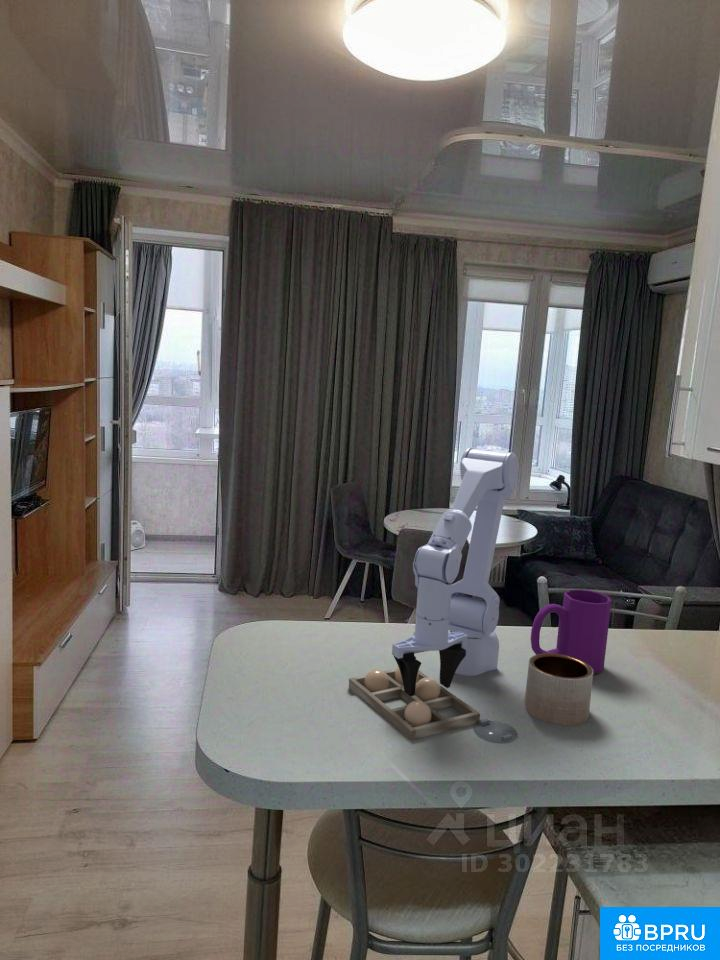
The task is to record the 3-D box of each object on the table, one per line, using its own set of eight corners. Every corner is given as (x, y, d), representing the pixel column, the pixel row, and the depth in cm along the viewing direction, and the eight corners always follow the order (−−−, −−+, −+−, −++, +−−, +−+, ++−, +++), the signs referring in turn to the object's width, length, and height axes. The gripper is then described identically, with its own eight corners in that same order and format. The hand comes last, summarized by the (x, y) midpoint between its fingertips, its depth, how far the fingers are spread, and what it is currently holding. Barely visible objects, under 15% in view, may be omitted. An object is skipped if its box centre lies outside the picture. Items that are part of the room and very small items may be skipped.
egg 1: (380, 686, 127) (381, 663, 126) (393, 696, 123) (394, 673, 122) (359, 690, 125) (360, 667, 124) (371, 701, 121) (373, 677, 120)
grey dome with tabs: (496, 725, 117) (497, 713, 117) (526, 745, 111) (527, 733, 111) (463, 734, 113) (464, 722, 113) (492, 756, 107) (493, 743, 107)
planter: (569, 701, 127) (575, 651, 126) (600, 732, 117) (606, 678, 115) (513, 703, 125) (518, 653, 124) (539, 734, 115) (544, 680, 113)
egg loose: (438, 697, 124) (439, 674, 123) (440, 709, 119) (441, 685, 119) (413, 695, 124) (415, 672, 123) (414, 707, 119) (416, 683, 119)
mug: (611, 676, 139) (619, 604, 137) (536, 675, 137) (543, 602, 135) (591, 657, 148) (599, 589, 146) (521, 656, 146) (527, 587, 144)
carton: (410, 680, 132) (412, 665, 131) (478, 730, 115) (480, 713, 114) (348, 694, 125) (349, 678, 125) (410, 749, 108) (411, 731, 108)
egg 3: (420, 718, 116) (422, 693, 115) (435, 730, 112) (437, 705, 111) (398, 723, 114) (399, 698, 113) (413, 736, 110) (415, 710, 109)
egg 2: (409, 680, 130) (410, 657, 129) (422, 690, 126) (424, 667, 125) (389, 684, 128) (390, 661, 127) (402, 694, 124) (404, 671, 123)
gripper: (452, 602, 126) (446, 673, 128) (384, 612, 119) (379, 687, 121) (477, 615, 120) (471, 689, 122) (407, 626, 113) (402, 705, 115)
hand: (427, 689), depth 121 cm, fingers open, 7 cm apart
